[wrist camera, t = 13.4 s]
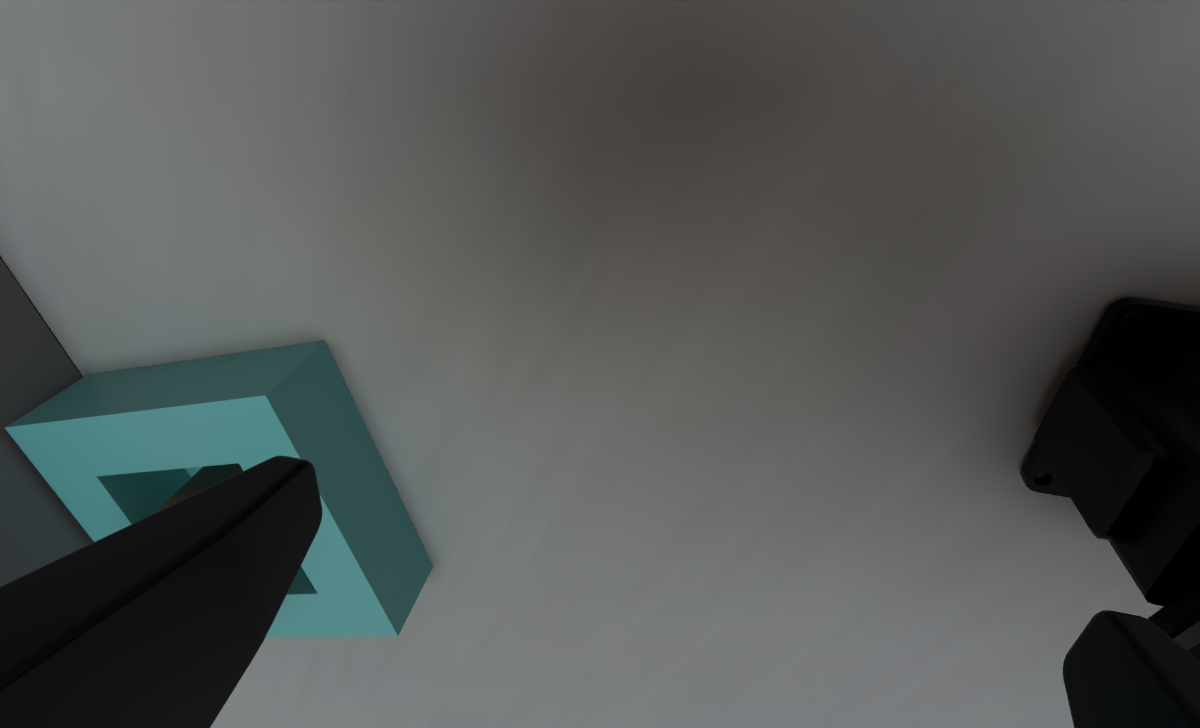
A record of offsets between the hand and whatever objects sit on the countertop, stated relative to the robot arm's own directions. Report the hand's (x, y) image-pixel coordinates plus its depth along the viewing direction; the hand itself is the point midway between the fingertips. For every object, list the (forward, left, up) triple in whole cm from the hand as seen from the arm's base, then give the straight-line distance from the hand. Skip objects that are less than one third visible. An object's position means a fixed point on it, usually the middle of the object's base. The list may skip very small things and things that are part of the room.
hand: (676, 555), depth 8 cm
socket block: (+16, +13, -14) cm, 25 cm away
